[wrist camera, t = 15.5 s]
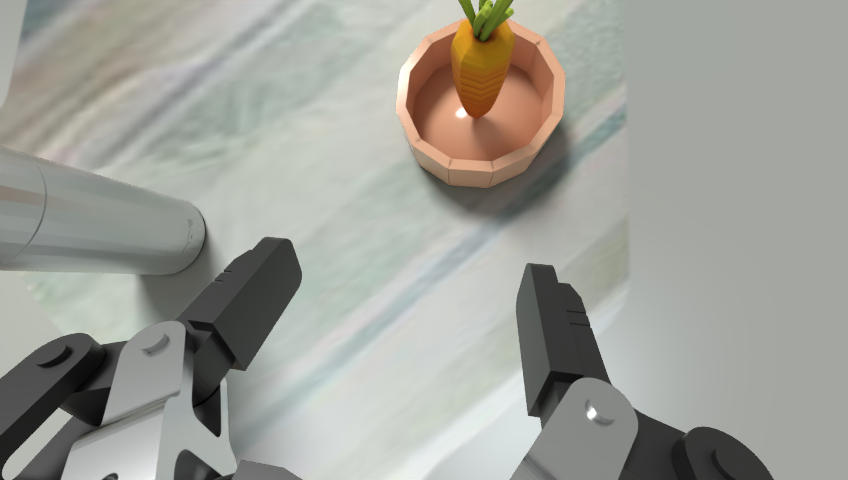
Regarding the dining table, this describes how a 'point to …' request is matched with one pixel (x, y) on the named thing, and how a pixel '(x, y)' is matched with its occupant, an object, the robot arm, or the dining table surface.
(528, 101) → the terracotta bowl
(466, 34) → the carrot
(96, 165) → the dining table surface
